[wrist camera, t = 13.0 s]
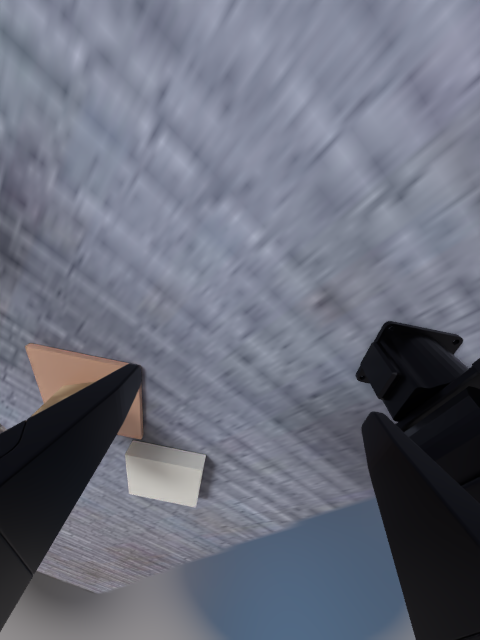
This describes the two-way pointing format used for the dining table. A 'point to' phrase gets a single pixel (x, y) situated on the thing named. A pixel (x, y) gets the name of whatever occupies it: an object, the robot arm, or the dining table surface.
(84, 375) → the terracotta tile
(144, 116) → the dining table surface
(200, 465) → the white square tile
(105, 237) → the dining table surface
